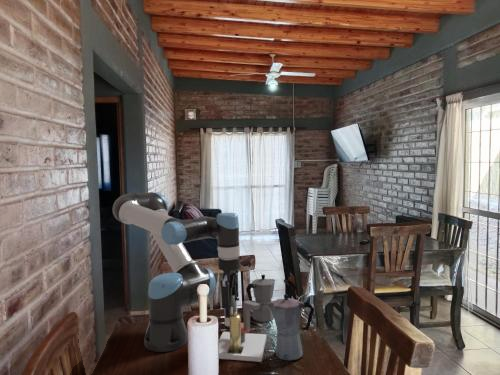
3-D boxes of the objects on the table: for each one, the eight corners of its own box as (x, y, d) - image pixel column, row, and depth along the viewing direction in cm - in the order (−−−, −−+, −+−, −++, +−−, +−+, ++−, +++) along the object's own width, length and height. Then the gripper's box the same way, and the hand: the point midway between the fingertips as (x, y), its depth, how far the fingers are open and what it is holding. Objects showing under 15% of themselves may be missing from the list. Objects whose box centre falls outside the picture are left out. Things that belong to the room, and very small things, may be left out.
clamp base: (212, 358, 115) (212, 353, 115) (223, 335, 131) (223, 331, 131) (261, 361, 113) (261, 357, 113) (266, 338, 129) (266, 334, 129)
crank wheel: (263, 344, 121) (263, 301, 120) (252, 351, 116) (251, 307, 116) (234, 332, 130) (234, 292, 129) (222, 338, 125) (222, 297, 125)
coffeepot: (267, 310, 155) (267, 269, 154) (282, 316, 148) (282, 274, 147) (239, 319, 145) (239, 276, 145) (254, 327, 138) (254, 281, 137)
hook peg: (229, 356, 116) (228, 315, 116) (231, 350, 120) (231, 310, 119) (239, 357, 116) (239, 315, 115) (241, 351, 119) (241, 311, 119)
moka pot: (268, 345, 123) (268, 288, 123) (313, 349, 121) (314, 291, 120) (265, 360, 114) (265, 298, 113) (314, 364, 112) (314, 301, 111)
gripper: (226, 250, 134) (228, 311, 135) (209, 263, 117) (212, 332, 118) (245, 251, 132) (247, 312, 133) (231, 264, 115) (234, 335, 116)
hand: (231, 322), depth 126 cm, fingers open, 4 cm apart
